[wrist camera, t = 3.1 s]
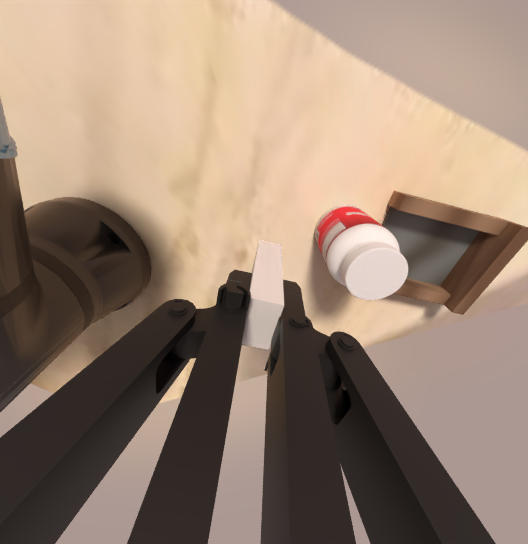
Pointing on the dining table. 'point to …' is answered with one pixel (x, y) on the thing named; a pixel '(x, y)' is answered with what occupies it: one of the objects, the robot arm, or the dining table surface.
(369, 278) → the pill bottle
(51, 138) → the dining table surface
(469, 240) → the tray
